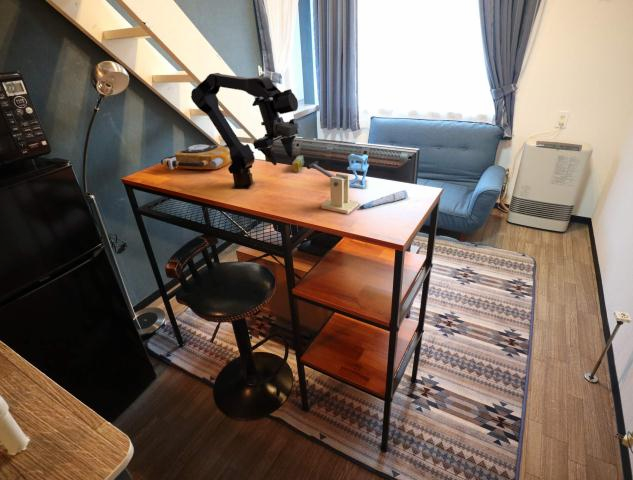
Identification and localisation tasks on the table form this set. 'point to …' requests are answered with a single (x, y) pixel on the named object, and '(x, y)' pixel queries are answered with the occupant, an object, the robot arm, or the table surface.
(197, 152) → the device
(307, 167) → the lever
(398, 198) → the pen
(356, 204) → the bracket
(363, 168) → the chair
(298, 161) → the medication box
